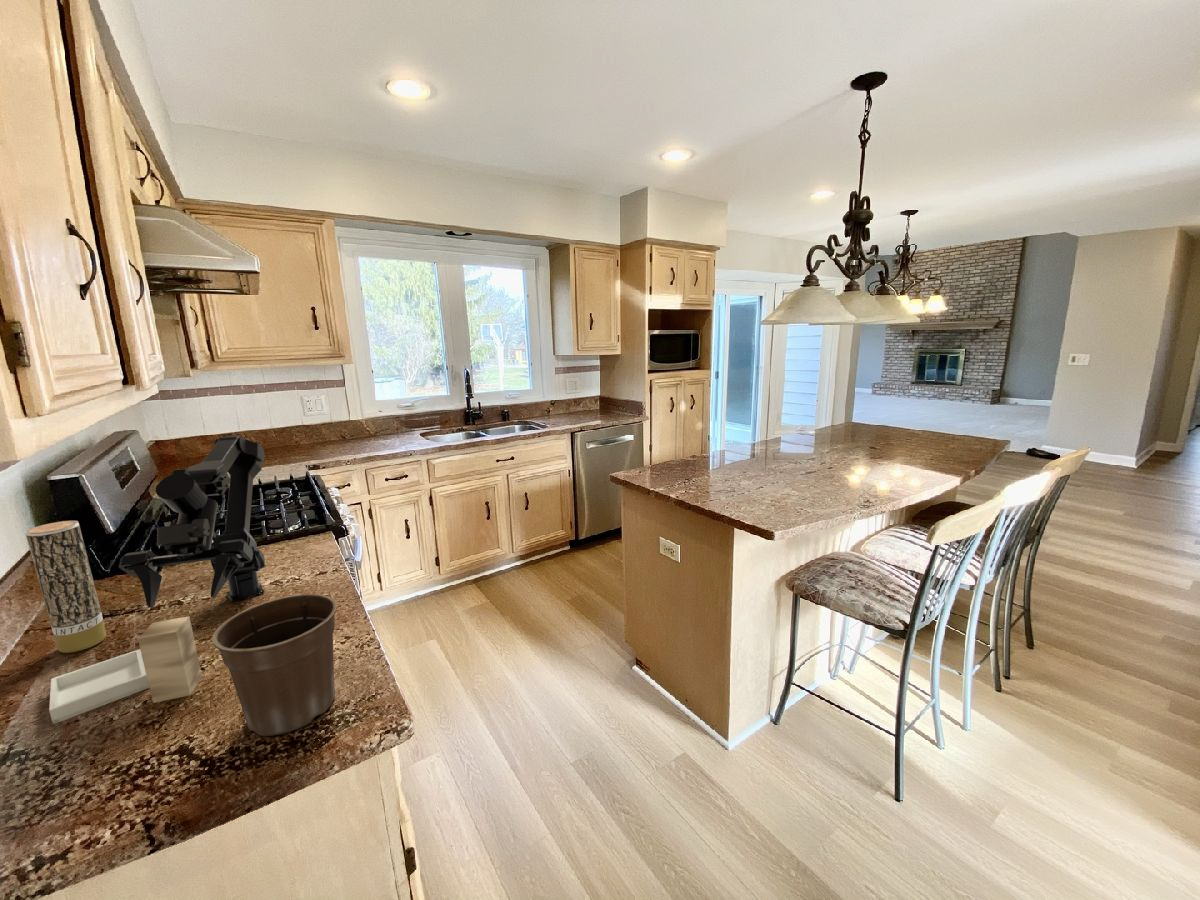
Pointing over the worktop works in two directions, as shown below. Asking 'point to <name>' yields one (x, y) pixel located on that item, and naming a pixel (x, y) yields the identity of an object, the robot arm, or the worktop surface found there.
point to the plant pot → (281, 661)
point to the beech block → (170, 659)
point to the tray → (96, 685)
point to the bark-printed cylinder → (67, 585)
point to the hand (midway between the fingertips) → (182, 602)
